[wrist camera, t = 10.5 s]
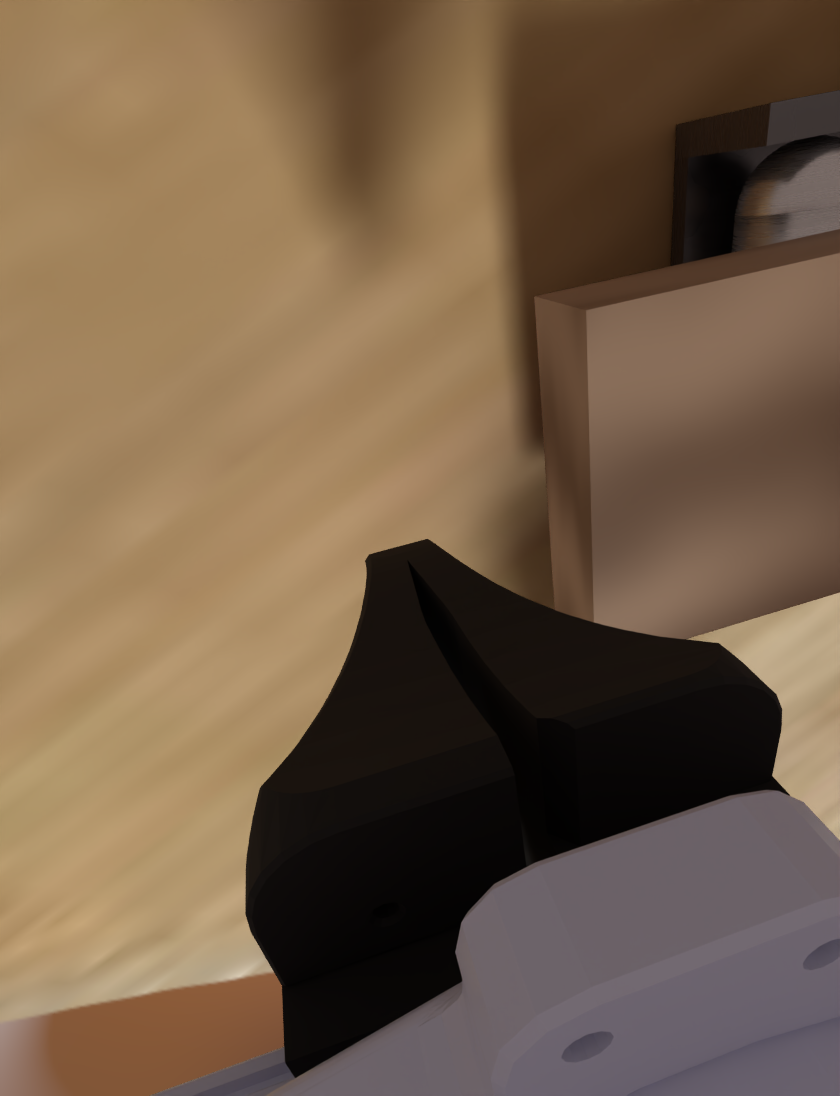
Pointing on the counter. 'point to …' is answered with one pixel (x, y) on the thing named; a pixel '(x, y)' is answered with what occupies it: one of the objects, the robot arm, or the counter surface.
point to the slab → (695, 439)
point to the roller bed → (732, 165)
